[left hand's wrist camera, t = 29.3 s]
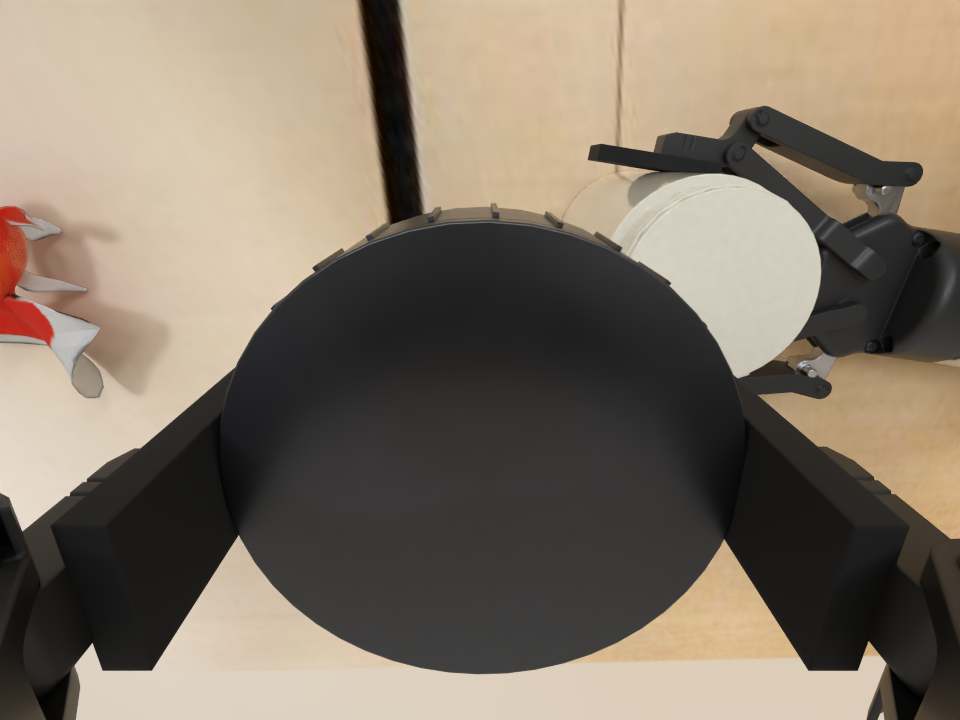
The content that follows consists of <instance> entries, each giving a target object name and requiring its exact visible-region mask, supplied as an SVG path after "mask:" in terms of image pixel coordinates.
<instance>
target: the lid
mask: <svg viewBox="0 0 960 720" xmlns="http://www.w3.org/2000/svg"><path fill="white" fill-rule="evenodd" d="M621 250H622V247H621V246H620V245H618V244H616V243H615V242H613V241H612V240H610V239H608V238H607V237H605V236H604V235H602V234H600V233H599V232H597V231H596V233H595V234H594V235H593V234H591V233H589V232H587V231H585V230H584V229H582V228H579V227H577V226H574V225H571V224H569V223H566V222H563V221H561V220H559V219H558V218H557V217H555V216H554V215H553V214H551V213H550V212H545V215H540V214H536V213H532V212H527V211H523V210H516V209H505V208H498V207H497V205H496V204H495V203H491V207H476V208H455V209H449V210H444V211H442V210H441V207H436V208H435V209H434V210H433V211H432V212H431V213H428V214H423V215H420V216H417V217H414V218H411V219H408V220H405V221H402V222H399V223H395V224H392V225H389V223H388V222H387V223H385V224H383V225H381V226H380V227H379V228H377V229H376V230H374V231H373V232H371V233H370V234H368V235H367V236H366V238H364V239H363V240H361V241H360V242H358V243H357V244H355V245H354V246H352V247H351V248H349V249H348V250H347V251H345V252H344V250H343V249H342V248H341V249H340V250H338V251H337V252H335V253H334V254H332V255H331V256H329V257H328V258H326V259H324V260H323V261H321V262H320V263H318V264H317V265H315V266H314V267H313V270H314V271H315V273H313V274H312V275H310V276H309V277H307V278H306V279H304V280H303V281H302V282H301V283H300V284H299V285H298V286H297V287H295V288H294V289H293V290H292V291H291V292H290V293H289V294H288V295H287V296H286V297H284V298H283V299H282V300H280V301H279V302H277V303H276V304H275V305H273V307H272V308H271V310H272V311H271V313H270V314H269V315H268V316H267V318H266V319H265V320H264V321H263V323H262V324H261V325H260V326H259V328H258V329H257V330H256V331H255V333H254V334H253V336H252V338H251V340H250V341H249V343H248V345H247V347H246V348H245V350H244V352H243V354H242V355H241V357H240V359H239V361H238V363H237V365H236V368H235V371H234V373H233V376H232V379H231V381H230V384H229V387H228V389H227V392H226V397H225V401H224V406H223V411H222V416H221V421H220V435H219V462H220V471H221V480H222V486H223V490H224V494H225V497H226V501H227V505H228V509H229V512H230V515H231V517H232V519H233V522H234V524H235V526H236V529H237V531H238V534H239V536H240V538H241V540H242V542H243V543H244V545H245V547H246V548H247V550H248V552H249V553H250V555H251V557H252V558H253V560H254V562H255V563H256V565H257V566H258V567H259V568H260V570H261V571H262V572H263V574H264V575H265V576H266V577H267V579H268V580H269V581H270V582H271V584H272V585H273V586H274V587H275V588H276V589H277V590H278V591H279V592H280V593H281V594H282V595H283V596H284V597H285V598H286V599H287V600H288V601H289V602H290V603H291V604H292V605H293V606H294V607H296V608H297V609H298V610H299V611H301V612H302V613H303V614H304V615H306V616H307V617H308V618H310V619H311V620H312V621H313V622H315V623H316V624H318V625H319V626H321V627H322V628H324V629H326V630H327V631H329V632H330V633H332V634H334V635H335V636H337V637H338V638H340V639H342V640H344V641H346V642H348V643H350V644H352V645H355V646H357V647H359V648H361V649H363V650H365V651H367V652H370V653H373V654H376V655H378V656H381V657H384V658H386V659H389V660H392V661H396V662H399V663H403V664H407V665H411V666H415V667H419V668H424V669H430V670H437V671H443V672H451V673H467V674H500V673H513V672H521V671H529V670H536V669H540V668H545V667H549V666H554V665H558V664H563V663H566V662H569V661H572V660H575V659H578V658H581V657H584V656H587V655H590V654H593V653H595V652H597V651H599V650H602V649H604V648H606V647H608V646H611V645H613V644H615V643H617V642H619V641H621V640H622V639H624V638H626V637H628V636H629V635H631V634H633V633H635V632H636V631H638V630H640V629H642V628H643V627H644V626H646V625H647V624H648V623H650V622H651V621H653V620H654V619H655V618H657V617H658V616H659V615H661V614H662V613H664V612H665V611H666V610H667V609H668V608H669V607H670V606H671V605H673V604H674V603H675V602H676V601H677V600H678V599H679V598H680V597H681V596H682V595H683V594H685V593H686V592H687V590H688V589H689V588H690V587H691V586H692V585H693V583H694V582H695V581H696V580H697V579H698V578H699V576H700V575H701V574H702V573H703V572H704V571H705V569H706V567H707V566H708V564H709V563H710V561H711V560H712V558H713V557H714V555H715V554H716V552H717V551H718V549H719V548H720V546H721V544H722V542H723V540H724V538H725V536H726V534H727V532H728V529H729V527H730V525H731V523H732V519H733V515H734V511H735V506H736V501H737V497H738V492H739V487H740V482H741V478H742V473H743V468H744V464H745V458H746V426H745V420H744V413H743V407H742V401H741V398H740V395H739V391H738V388H737V385H736V382H735V379H734V376H733V373H732V370H731V368H730V366H729V364H728V362H727V360H726V358H725V356H724V354H723V352H722V350H721V348H720V346H719V344H718V342H717V341H716V339H715V338H714V337H713V335H712V334H711V332H710V331H709V330H708V328H707V327H708V326H707V325H706V323H705V322H703V321H702V320H701V318H700V317H699V316H698V314H697V313H696V312H695V311H694V310H693V309H692V308H691V307H690V306H689V305H688V304H687V303H686V302H685V301H684V300H683V299H682V298H681V297H680V296H679V295H678V294H677V293H676V292H675V291H674V290H673V289H672V288H671V287H670V285H671V282H670V281H669V280H667V279H666V278H664V277H663V276H661V275H660V274H658V273H657V272H655V271H654V270H652V269H650V268H649V267H647V266H646V265H644V264H643V263H641V262H640V261H639V262H636V261H635V260H633V259H632V258H630V257H629V256H627V255H626V254H624V253H623V252H621Z"/></svg>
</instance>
